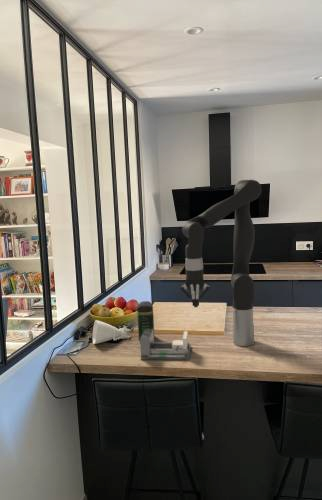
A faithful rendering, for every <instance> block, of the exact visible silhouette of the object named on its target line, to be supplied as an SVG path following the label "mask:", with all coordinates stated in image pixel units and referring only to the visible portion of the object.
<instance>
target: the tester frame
mask: <svg viewBox="0 0 322 500" xmlns="http://www.w3.org/2000/svg"><path fill="white" fill-rule="evenodd" d="M172 343H173V342H155V332H154V333H153V329H145V330H144V332H143V334H142V336H141V338H140V340H139V344H140V345H139V346H140V361H189V360H190V355H191V347H192V346H191V345H192V344H190V342H188V345H187V349H178V351H176V349H172ZM142 359H144V360H142Z"/></svg>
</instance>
